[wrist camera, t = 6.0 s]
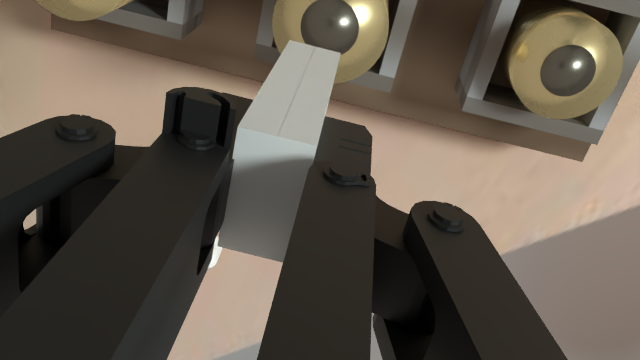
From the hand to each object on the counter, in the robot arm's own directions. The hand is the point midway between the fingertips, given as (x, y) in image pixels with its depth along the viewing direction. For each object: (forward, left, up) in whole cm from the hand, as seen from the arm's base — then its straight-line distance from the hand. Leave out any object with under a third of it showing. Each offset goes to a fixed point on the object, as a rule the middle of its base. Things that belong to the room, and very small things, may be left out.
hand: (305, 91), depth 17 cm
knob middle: (0, 0, -13) cm, 13 cm away
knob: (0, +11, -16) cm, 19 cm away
